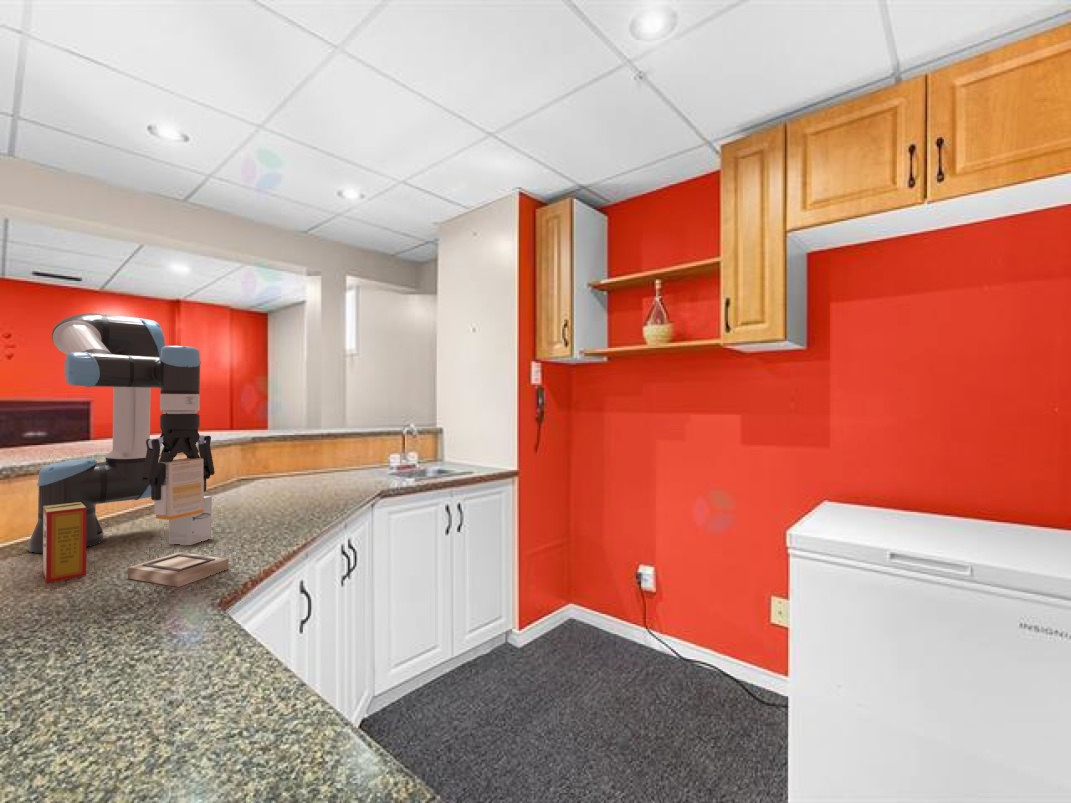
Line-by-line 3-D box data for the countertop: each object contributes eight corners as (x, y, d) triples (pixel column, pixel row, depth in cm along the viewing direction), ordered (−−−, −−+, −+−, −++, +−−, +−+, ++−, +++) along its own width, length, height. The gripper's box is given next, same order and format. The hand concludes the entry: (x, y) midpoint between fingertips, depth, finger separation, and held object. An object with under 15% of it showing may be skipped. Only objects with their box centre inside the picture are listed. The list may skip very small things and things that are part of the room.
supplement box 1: (190, 511, 120) (190, 457, 120) (204, 512, 119) (204, 458, 119) (154, 518, 113) (154, 461, 113) (169, 520, 111) (169, 461, 111)
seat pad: (127, 578, 113) (127, 566, 113) (180, 562, 124) (180, 550, 124) (178, 587, 108) (178, 574, 108) (228, 569, 119) (228, 557, 119)
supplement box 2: (190, 546, 138) (190, 500, 138) (167, 544, 139) (168, 499, 139) (212, 539, 145) (212, 495, 145) (191, 537, 146) (191, 494, 146)
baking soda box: (86, 575, 115) (86, 506, 115) (46, 582, 110) (46, 510, 110) (80, 566, 121) (80, 500, 121) (42, 572, 116) (43, 504, 116)
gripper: (143, 413, 105) (143, 521, 105) (232, 412, 125) (232, 502, 125) (119, 413, 107) (118, 518, 107) (210, 411, 127) (210, 500, 127)
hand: (179, 510), depth 116 cm, fingers closed on supplement box 1, 8 cm apart
